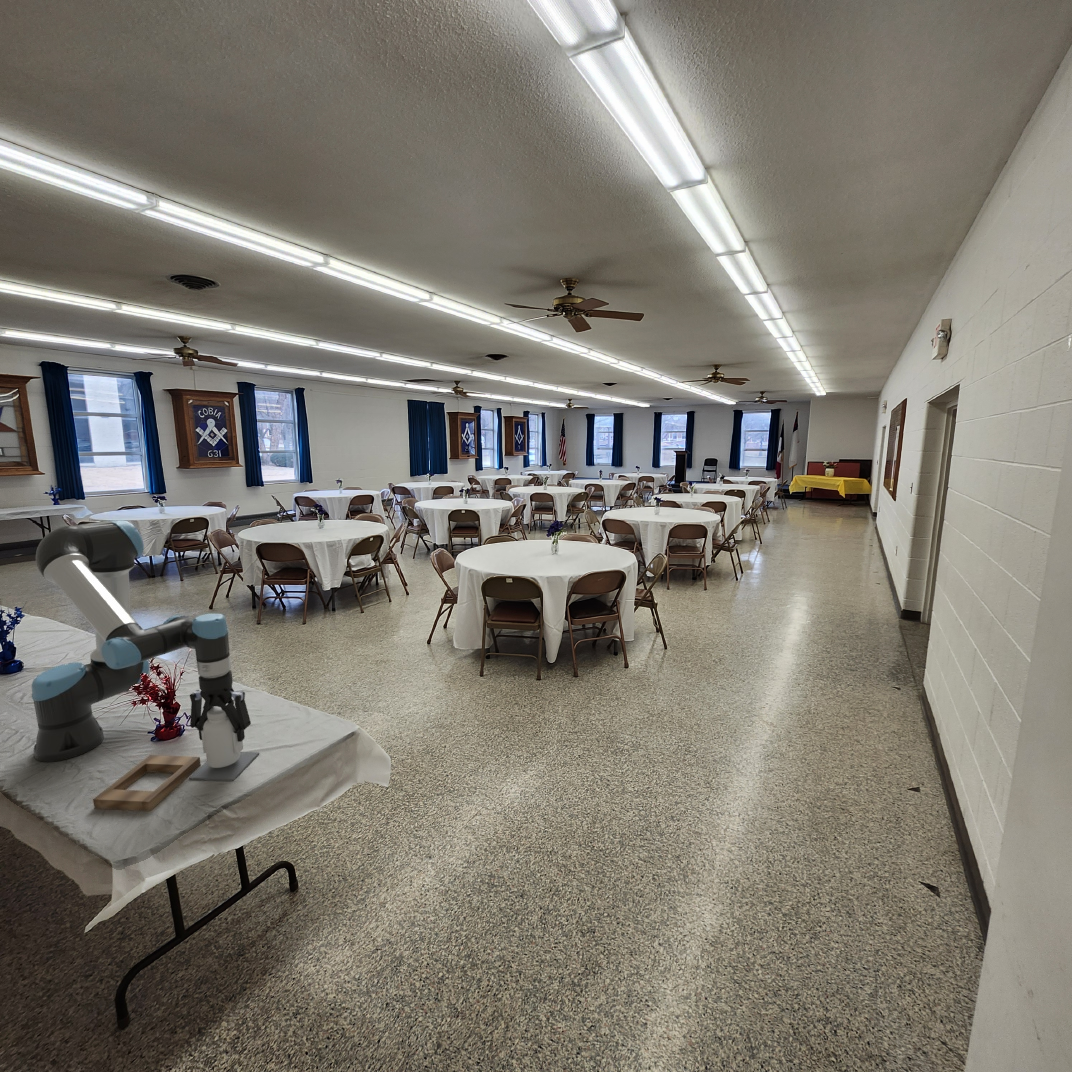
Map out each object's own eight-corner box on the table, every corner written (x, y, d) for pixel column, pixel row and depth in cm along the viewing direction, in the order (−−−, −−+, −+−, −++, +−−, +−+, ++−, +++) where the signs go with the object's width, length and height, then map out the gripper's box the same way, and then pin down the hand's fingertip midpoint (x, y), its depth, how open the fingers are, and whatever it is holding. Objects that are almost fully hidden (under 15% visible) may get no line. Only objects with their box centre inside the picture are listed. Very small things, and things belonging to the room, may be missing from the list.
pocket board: (94, 808, 127) (92, 799, 127) (151, 763, 145) (150, 754, 145) (150, 810, 127) (148, 801, 126) (200, 765, 144) (199, 756, 144)
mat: (188, 779, 139) (188, 777, 138) (218, 752, 150) (218, 750, 150) (233, 781, 138) (233, 779, 138) (259, 754, 150) (259, 752, 150)
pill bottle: (203, 771, 139) (197, 719, 136) (212, 753, 146) (206, 704, 144) (236, 766, 141) (231, 714, 138) (244, 749, 149) (239, 700, 146)
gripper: (166, 677, 136) (176, 757, 140) (244, 680, 135) (252, 760, 139) (187, 665, 143) (196, 741, 148) (261, 667, 142) (268, 744, 147)
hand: (223, 750), depth 143 cm, fingers closed on pill bottle, 8 cm apart
